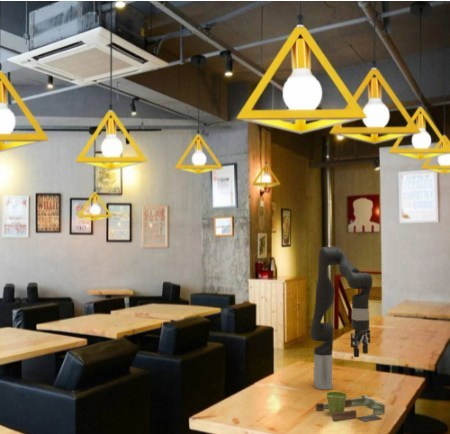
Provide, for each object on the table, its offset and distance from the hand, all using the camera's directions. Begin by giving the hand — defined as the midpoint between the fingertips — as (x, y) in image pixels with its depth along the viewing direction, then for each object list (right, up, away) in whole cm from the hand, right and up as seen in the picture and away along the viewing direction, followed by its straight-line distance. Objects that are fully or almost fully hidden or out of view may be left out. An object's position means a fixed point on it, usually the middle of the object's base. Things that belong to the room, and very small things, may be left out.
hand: (360, 355), depth 229 cm
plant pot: (-11, -27, +1) cm, 29 cm away
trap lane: (-4, -26, +4) cm, 27 cm away
